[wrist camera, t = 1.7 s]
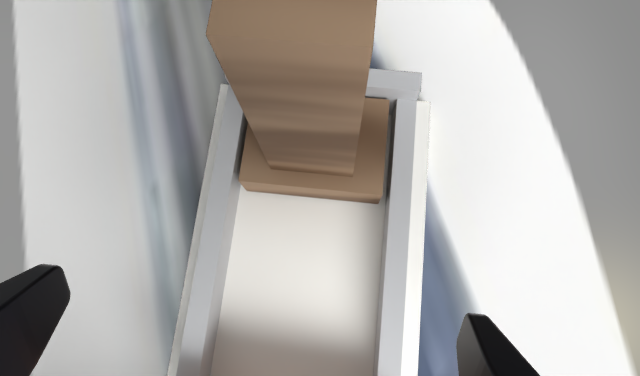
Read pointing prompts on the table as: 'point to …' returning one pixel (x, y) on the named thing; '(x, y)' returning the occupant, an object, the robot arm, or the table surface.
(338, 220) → the tray
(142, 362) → the table surface
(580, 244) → the table surface
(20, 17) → the table surface
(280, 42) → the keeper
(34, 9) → the table surface
